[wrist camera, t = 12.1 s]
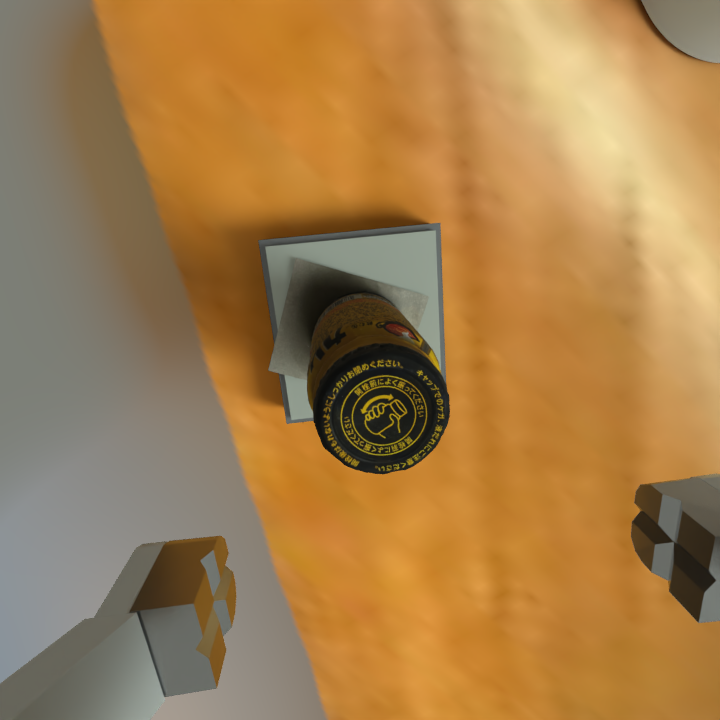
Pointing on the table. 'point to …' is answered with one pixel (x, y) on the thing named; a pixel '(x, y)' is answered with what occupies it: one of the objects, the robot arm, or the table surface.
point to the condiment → (362, 367)
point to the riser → (365, 259)
